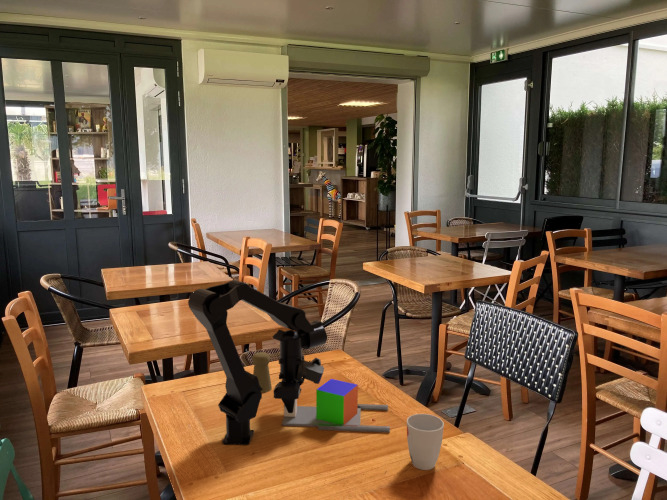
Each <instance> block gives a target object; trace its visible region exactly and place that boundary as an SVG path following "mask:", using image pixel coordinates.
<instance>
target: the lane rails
mask: <svg viewBox="0 0 667 500" xmlns="http://www.w3.org/2000/svg"><path fill="white" fill-rule="evenodd" d="M357 408H361V411H363V410H364V411H389V405H388V404H369V403H365V404H364V403H363V404H362V403H358V407H357ZM317 430H318V431H341V432H366V433H369V432H370V433H391V426H389V425H370V424H369V425H366V424H362V425H361V424H360V425H342V424H318V427H317Z"/></svg>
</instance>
